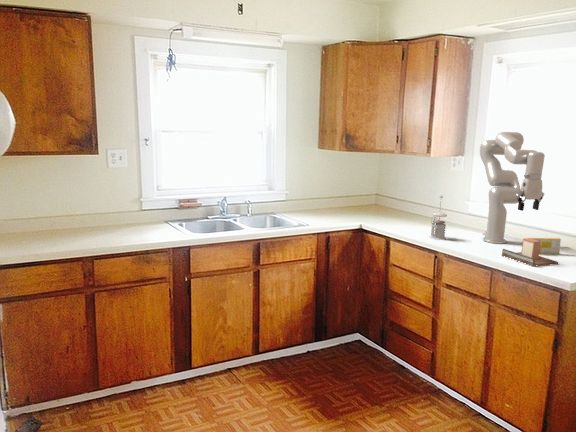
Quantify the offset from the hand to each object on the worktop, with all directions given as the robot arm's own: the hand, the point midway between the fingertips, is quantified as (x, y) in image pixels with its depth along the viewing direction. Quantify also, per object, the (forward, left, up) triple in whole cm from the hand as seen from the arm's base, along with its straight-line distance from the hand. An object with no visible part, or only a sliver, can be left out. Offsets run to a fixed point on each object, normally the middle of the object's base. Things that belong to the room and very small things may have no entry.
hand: (527, 209), depth 257 cm
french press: (-44, -21, -24) cm, 54 cm away
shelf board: (+10, -6, -24) cm, 26 cm away
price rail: (+10, -13, -22) cm, 28 cm away
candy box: (+1, +13, -24) cm, 27 cm away
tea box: (+10, -6, -22) cm, 25 cm away
